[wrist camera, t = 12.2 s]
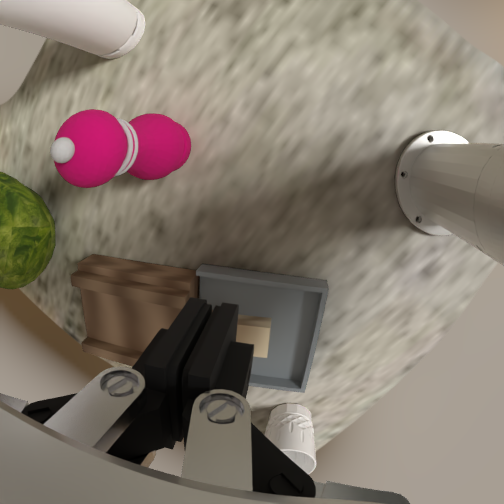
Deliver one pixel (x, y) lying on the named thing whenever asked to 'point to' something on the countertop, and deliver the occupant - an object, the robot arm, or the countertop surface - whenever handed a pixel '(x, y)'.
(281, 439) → the white cup
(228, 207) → the countertop surface
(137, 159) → the pepper mill
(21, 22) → the bottle
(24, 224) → the lettuce
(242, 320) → the chip
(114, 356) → the brown wooden box
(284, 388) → the tray
